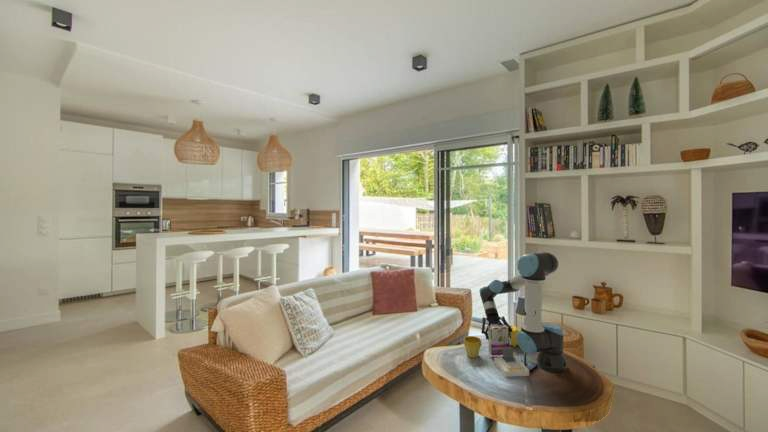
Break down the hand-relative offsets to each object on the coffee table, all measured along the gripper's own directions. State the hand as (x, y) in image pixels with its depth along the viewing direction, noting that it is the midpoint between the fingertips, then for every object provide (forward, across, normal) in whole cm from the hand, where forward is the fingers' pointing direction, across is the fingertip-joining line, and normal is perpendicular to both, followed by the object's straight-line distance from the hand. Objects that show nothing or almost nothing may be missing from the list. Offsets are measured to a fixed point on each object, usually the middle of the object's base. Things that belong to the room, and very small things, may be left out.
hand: (500, 344), depth 193 cm
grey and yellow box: (-8, -13, -20) cm, 25 cm away
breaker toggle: (+10, -1, +2) cm, 10 cm away
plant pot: (+2, +15, -10) cm, 18 cm away
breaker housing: (+15, -1, +2) cm, 15 cm away
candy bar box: (+3, 0, -7) cm, 8 cm away
